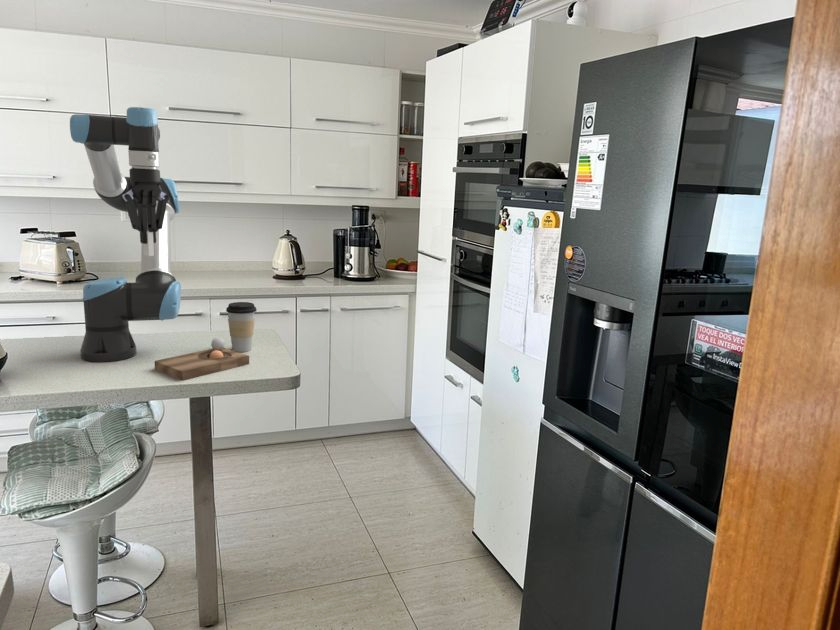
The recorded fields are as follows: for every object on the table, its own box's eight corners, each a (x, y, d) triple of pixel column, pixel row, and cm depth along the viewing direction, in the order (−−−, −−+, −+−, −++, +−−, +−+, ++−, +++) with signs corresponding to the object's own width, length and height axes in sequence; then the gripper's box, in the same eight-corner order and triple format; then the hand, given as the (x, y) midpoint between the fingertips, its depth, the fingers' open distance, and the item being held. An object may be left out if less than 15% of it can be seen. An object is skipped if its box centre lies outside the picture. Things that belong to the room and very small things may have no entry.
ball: (207, 364, 182) (205, 352, 181) (218, 359, 185) (216, 347, 184) (216, 367, 180) (214, 354, 179) (227, 361, 183) (225, 349, 182)
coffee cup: (226, 354, 192) (225, 307, 189) (227, 346, 201) (226, 301, 198) (257, 353, 195) (256, 307, 192) (256, 345, 204) (256, 301, 201)
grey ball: (208, 350, 187) (208, 337, 186) (220, 347, 190) (219, 335, 189) (216, 352, 184) (216, 340, 184) (227, 350, 188) (227, 337, 187)
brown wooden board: (154, 369, 175) (154, 360, 174) (220, 354, 192) (220, 346, 191) (182, 380, 166) (182, 371, 166) (249, 363, 184) (249, 355, 183)
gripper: (128, 167, 157) (133, 258, 162) (174, 169, 168) (178, 255, 173) (113, 166, 162) (118, 255, 167) (159, 168, 172) (163, 252, 177)
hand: (148, 255), depth 170 cm, fingers closed
